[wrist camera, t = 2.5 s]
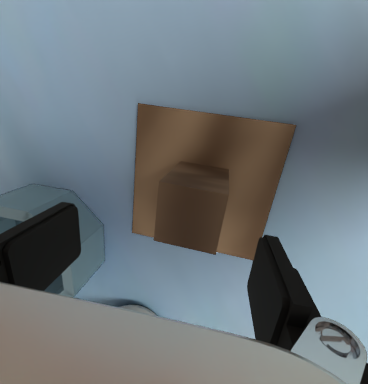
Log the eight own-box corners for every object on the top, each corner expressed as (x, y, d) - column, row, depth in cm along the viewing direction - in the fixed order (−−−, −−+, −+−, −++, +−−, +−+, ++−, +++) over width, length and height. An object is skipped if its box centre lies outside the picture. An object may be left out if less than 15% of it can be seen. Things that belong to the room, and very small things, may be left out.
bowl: (101, 195, 21) (65, 218, 16) (106, 283, 24) (77, 322, 20) (6, 179, 22) (-53, 195, 18) (24, 263, 26) (-20, 295, 21)
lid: (293, 124, 16) (336, 130, 9) (253, 255, 20) (265, 318, 14) (141, 103, 17) (93, 96, 11) (135, 228, 22) (97, 274, 15)
